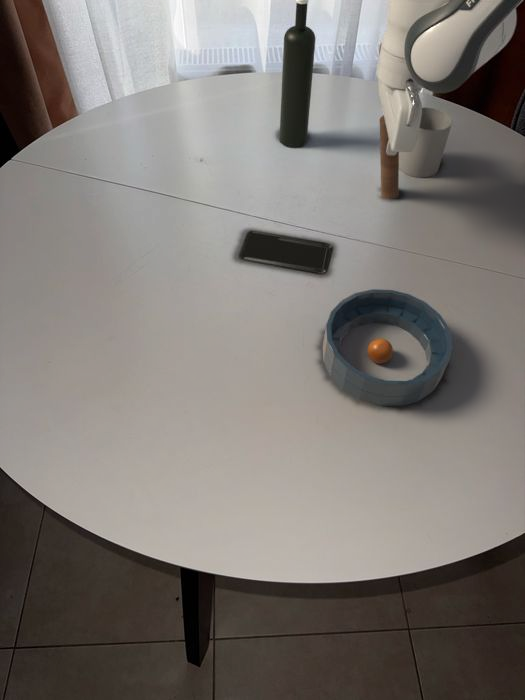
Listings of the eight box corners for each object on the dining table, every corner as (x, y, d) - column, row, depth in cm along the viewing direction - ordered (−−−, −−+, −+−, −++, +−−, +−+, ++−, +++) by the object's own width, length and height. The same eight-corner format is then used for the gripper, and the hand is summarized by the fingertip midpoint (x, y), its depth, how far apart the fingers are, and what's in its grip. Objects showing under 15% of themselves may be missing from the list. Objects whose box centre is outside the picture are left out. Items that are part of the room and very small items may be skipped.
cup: (421, 182, 113) (433, 136, 105) (388, 164, 117) (398, 117, 109) (446, 166, 117) (461, 119, 109) (414, 148, 120) (426, 102, 113)
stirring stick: (398, 191, 110) (398, 112, 98) (399, 201, 108) (399, 122, 96) (380, 192, 111) (379, 114, 99) (381, 203, 109) (379, 125, 97)
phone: (325, 274, 95) (236, 258, 97) (324, 279, 96) (236, 263, 98) (332, 243, 100) (248, 228, 102) (332, 248, 100) (248, 233, 102)
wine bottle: (286, 130, 124) (295, -29, 101) (311, 137, 123) (325, -23, 99) (274, 143, 121) (280, -18, 97) (299, 150, 119) (312, -12, 96)
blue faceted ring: (430, 317, 91) (440, 290, 86) (451, 411, 80) (463, 386, 75) (319, 314, 91) (323, 287, 86) (325, 408, 80) (330, 383, 75)
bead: (377, 346, 87) (395, 361, 85) (360, 356, 85) (377, 372, 83) (382, 329, 84) (400, 344, 82) (364, 340, 82) (383, 356, 80)
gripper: (438, 100, 84) (415, 181, 95) (416, 37, 97) (399, 115, 108) (394, 99, 84) (377, 180, 95) (379, 36, 97) (365, 114, 108)
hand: (389, 145), depth 101 cm, fingers closed on stirring stick, 3 cm apart
